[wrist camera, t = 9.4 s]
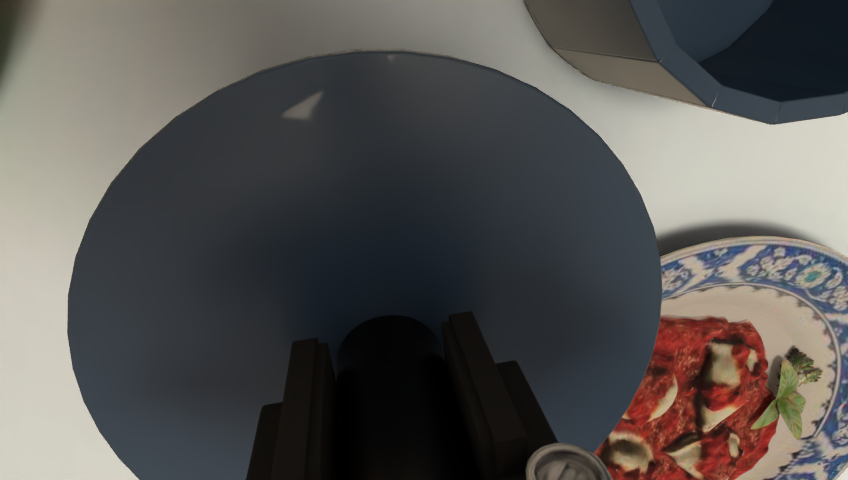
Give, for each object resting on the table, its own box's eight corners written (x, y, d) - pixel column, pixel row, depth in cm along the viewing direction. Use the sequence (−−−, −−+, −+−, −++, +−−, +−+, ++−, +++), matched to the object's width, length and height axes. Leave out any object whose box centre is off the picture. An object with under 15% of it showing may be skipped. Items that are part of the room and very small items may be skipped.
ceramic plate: (463, 570, 35) (473, 616, 33) (490, 230, 25) (508, 255, 22) (790, 527, 39) (823, 564, 36) (930, 213, 29) (991, 233, 26)
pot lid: (266, -113, 9) (150, -310, 4) (739, 244, 14) (998, 391, 9) (2, 426, 13) (-255, 731, 8) (449, 566, 18) (497, 818, 12)
